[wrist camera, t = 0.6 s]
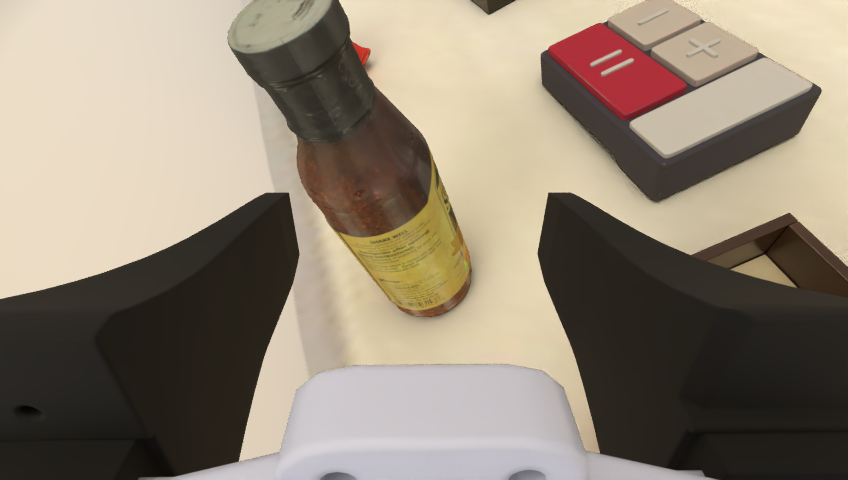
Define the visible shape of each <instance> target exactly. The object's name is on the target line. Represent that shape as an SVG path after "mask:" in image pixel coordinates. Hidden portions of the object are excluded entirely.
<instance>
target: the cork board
mask: <svg viewBox="0 0 848 480" xmlns="http://www.w3.org/2000/svg"><path fill="white" fill-rule="evenodd" d="M472 1H473V2H474V3H475V4H477V5H478V6H479V7H480V8H482V9H483V10H484V11H485V12H486V13H488V14H490V13H492V12H494V11H496V10H498V9H500V8H502V7H503V6H505V5H507V4H509V3H511V2H513V1H514V0H472Z"/></svg>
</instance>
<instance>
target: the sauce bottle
mask: <svg viewBox="0 0 848 480" xmlns="http://www.w3.org/2000/svg"><path fill="white" fill-rule="evenodd" d="M227 39H228V44H229V46H230V48H231V50H232V51H233V53H234V55H235V56H236V57H237V59H238V61H239V62H240V63H241V65H242V66H243V67H244V69H245V71H246V72H247V74H248V75H249V76H250V77H251V78H252V79H253V80H254V81H255V82H257V84H258V85H259V86H261V87H263V88H264V89H265V90H266V91H267V92H268V94H269V95H270V96H271V98H272V99H273V101H274V102H275V104H276V105H277V107H278V108H279V109H280V111H281V112H282V113H283V115H284V117H285V118H286V121H287V126H288V127H289V129H290V130H291V131H292V132H294V133H295V134H296V135H297V140H298V146H297V150H298V151H297V167H298V172H299V176H300V179H301V183H302V184H303V186H304V188H305V190H306V192H307V194H308V195H309V197H310V198H312V200H313V202H314V203H315V204H316V205H317V206H318V207H319V209H320V210H321V211H322V212H323V214H324V215H325V218H326V220H327V222H328V224H329V225H330V226H331V228H332V229H333V230H334V231H335V233H336V234H337V235H338V236H339V238H340V239H341V240H342V241H343V242H344V244H345V245H346V246H347V247H348V249H349V250H350V251H351V252H352V254H353V255H354V256H355V257H356V259H357V260H358V261H359V262H360V264H361V265H362V266H363V267H364V269H365V270H366V271H367V272H368V274H369V275H370V276H371V277H372V279H373V280H374V281H375V282H376V283H377V285H378V286H379V287H380V288H381V290H382V291H383V292H384V293H385V295H386V296H387V297H388V298H389V300H392V301H393V302H394V303H395V304H396V305H397V306H398V308H399V309H401V310H402V311H404V312H406V313H408V314H411V315H414V316H427V317H431V316H437V315H440V314H442V313H445V312H448V311H449V310H450V309H451V308H453V307H455V306H456V305H457V304H458V303H459V302H460V301H461V300H462V299H463V297H464V296H465V294H466V293H467V291H468V288H469V286H470V280H471V272H472V269H471V264H470V256H469V253H468V249H467V247H466V244H465V242H464V239H463V236H462V234H461V231H460V228H459V226H458V223H457V220H456V218H455V215H454V212H453V210H452V207H451V204H450V202H449V199H448V196H447V193H446V191H445V188H444V186H443V183H442V181H441V178H440V176H439V173H438V169H437V167H436V164H435V162H434V160H433V157H432V154H431V152H430V150H429V147H428V144H427V142H426V140H425V138H424V137H423V135H422V134H421V133H420V131H419V130H418V129H417V128H416V127H415V126H414V125H413V124H412V123H411V122H410V121H409V120H408V119H407V118H406V117H405V116H404V115H403V114H402V113H401V112H400V111H399V110H398V109H397V108H396V107H395V106H394V105H393V104H392V103H391V102H390V101H389V100H388V99H387V98H386V97H385V96H384V95H383V94H382V93H381V92H380V91H379V90H378V89H377V88H376V87H375V86H374V84H373V82H372V80H371V79H370V78H369V77H368V75H367V73H366V71H365V69H364V67H363V65H362V62H361V60H360V58H359V55H358V53H357V52H356V50H355V47H354V45H353V43H352V41H351V39H350V28H349V21H348V17H347V15H346V14H345V12H344V10H343V8H342V6H341V4H340V2H339V0H253V1H252V2H251V3H250V4H249V5H247V6H246V7H245V8H244V9H243V10H242V11H241V12H240V13H239V14H238V16H237V17H236V18H235V20H234V21H233V22H232V25H231V27H230V29H229V31H228V37H227Z"/></svg>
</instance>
